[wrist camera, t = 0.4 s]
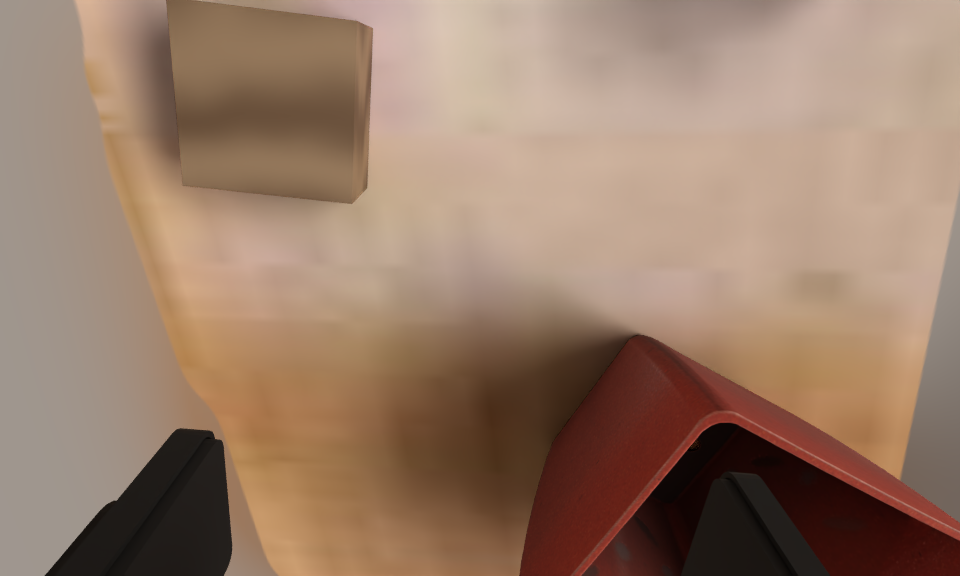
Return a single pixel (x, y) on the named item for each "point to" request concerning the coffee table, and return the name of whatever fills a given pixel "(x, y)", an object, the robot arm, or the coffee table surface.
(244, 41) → the walnut plinth
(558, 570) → the plant pot
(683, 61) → the coffee table surface
